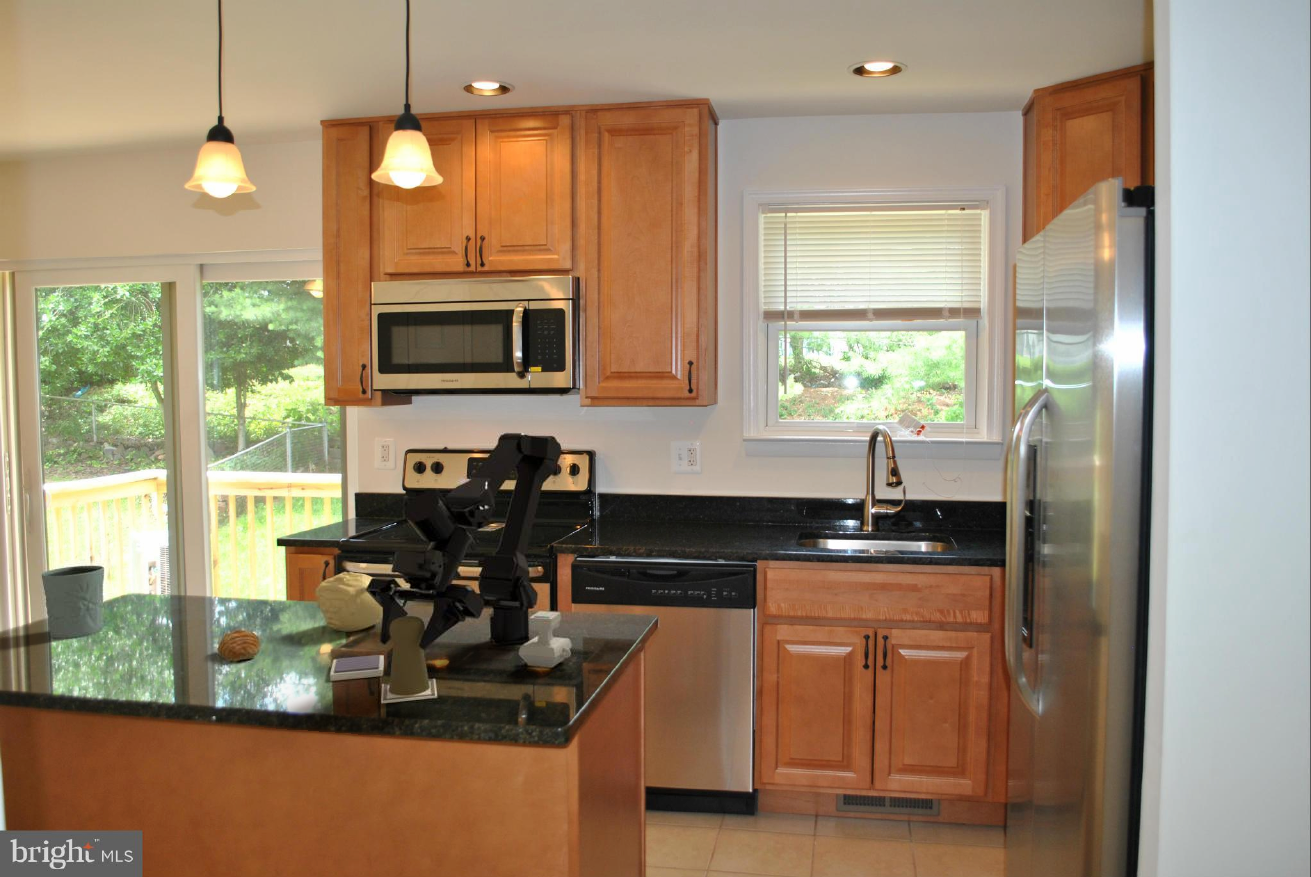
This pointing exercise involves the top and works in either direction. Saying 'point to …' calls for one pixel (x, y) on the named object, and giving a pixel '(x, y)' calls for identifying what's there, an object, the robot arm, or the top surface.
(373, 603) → the sculpture
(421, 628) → the brown peg figure
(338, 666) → the ink pad
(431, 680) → the white flat square piece
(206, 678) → the top surface
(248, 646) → the pastry
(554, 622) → the stamp
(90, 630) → the grey cup
